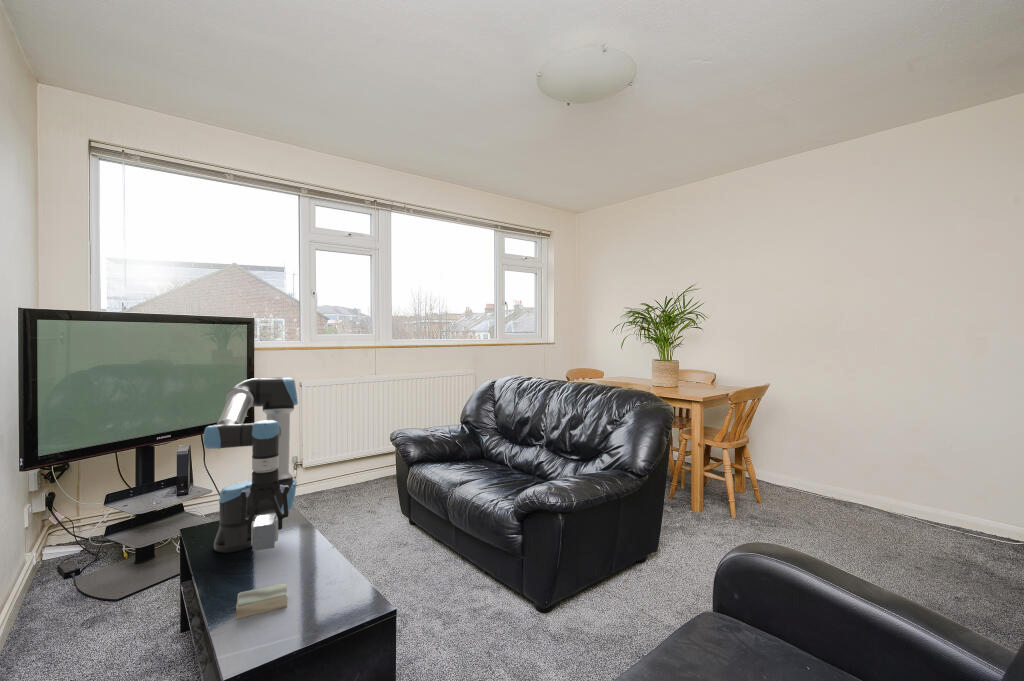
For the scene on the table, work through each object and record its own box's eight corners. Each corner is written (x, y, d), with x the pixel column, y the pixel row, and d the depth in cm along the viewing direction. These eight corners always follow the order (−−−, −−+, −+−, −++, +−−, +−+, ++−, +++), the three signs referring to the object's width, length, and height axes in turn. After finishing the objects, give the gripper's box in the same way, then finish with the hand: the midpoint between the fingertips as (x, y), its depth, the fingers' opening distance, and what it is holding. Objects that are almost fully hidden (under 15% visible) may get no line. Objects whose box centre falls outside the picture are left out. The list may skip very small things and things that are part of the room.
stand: (238, 604, 136) (238, 592, 136) (286, 593, 143) (286, 581, 143) (236, 618, 129) (236, 606, 129) (287, 606, 135) (287, 594, 135)
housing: (256, 538, 149) (256, 515, 149) (276, 535, 152) (276, 513, 152) (252, 551, 140) (252, 527, 140) (274, 547, 142) (274, 524, 142)
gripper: (229, 476, 138) (228, 552, 138) (298, 469, 146) (297, 540, 146) (232, 469, 145) (232, 542, 145) (298, 463, 153) (298, 531, 153)
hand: (265, 541), depth 146 cm, fingers closed on housing, 6 cm apart
